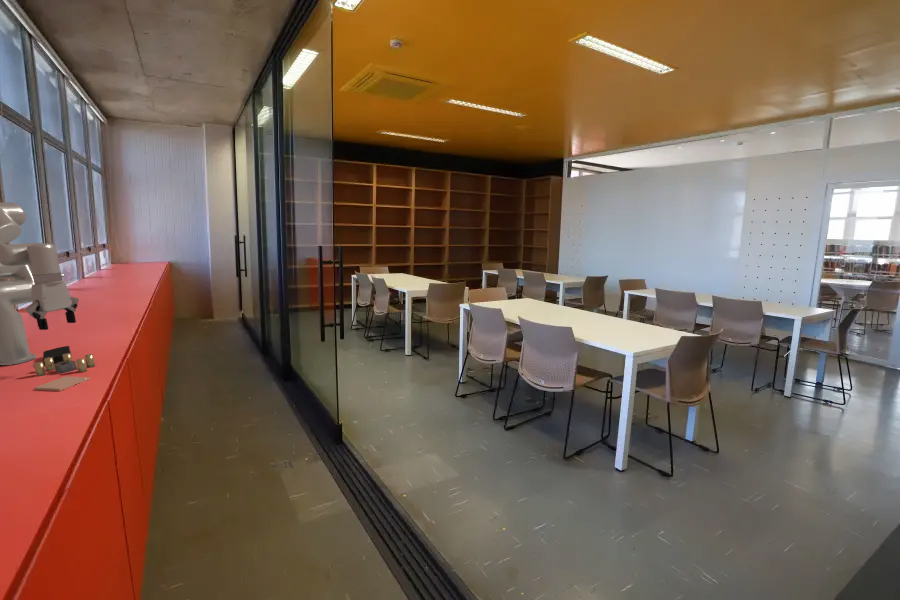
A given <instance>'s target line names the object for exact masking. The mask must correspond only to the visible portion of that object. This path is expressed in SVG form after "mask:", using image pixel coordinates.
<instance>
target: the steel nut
mask: <svg viewBox="0 0 900 600" xmlns="http://www.w3.org/2000/svg"><path fill="white" fill-rule="evenodd" d="M54 366H55V372H56V374H67V373H71V372H74V371H75V370H77V369H78V367H77V362H76V360H72V361H65V362H61V363H57V364H54ZM76 368H77V369H76ZM70 371H71V372H70ZM66 372H67V373H66Z"/></svg>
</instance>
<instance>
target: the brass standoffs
mask: <svg viewBox="0 0 900 600" xmlns="http://www.w3.org/2000/svg"><path fill="white" fill-rule="evenodd" d="M71 356H72V352H71V353H66V354H63V360H64V362H65V361H73V358H72V357H73V356H72V357H71ZM44 361H45V365H44V364H43V361H38V362H34V363H33V366H34V369H35V374H36V375H35V376H36V377H41V376H42V377H43V376H45V375H46V374H47V373H46V372H51V371H54V370H55V371H56V368H55V364H54V361H53V357H49V358H45V359H44ZM75 362H76V367H77V371H78V373H84V372H87V371H88V370H87V368H94V367H95V366H96V364H95V359H94V355H93V353H88V354H85V355H84V357H82V358H78V359H75ZM45 369H46V370H45Z"/></svg>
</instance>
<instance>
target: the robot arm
mask: <svg viewBox="0 0 900 600" xmlns="http://www.w3.org/2000/svg"><path fill="white" fill-rule="evenodd" d="M26 219H27V214H26V212H25V210H24V208H23V207H22V206H21V205H19V204H17V203H14V202H0V280H1V281H0V365H7V366H13V364H14V365H18V364H19V365H20V364H22V363H27V362H31V361H32V360H35V359H36V358H37V355H36V354H35V353H31V351H30V347H29V343H28V339H27V338H28V337H27V333H26V329H25V325H24V321H23V315H22V314H21V313H20V312H19V311H17V310H16V309H15V308H13V307H12V306H14V305H15V306H16V305H21V304H27V303H31V304H29V305H28V306H27V307H25V311H26V312H27V313H28V314H29V316H30V317H32V318H33V319H34V320H36V323H37V327H38V330H40V331H46V330H49V324H48V320H47V318H46V315H47V313H51V312H54V311H59V310H63V311H66V312H64V315H65V317H66V318H65V319H66V323H68V324H75V323H77V320H76V319H77V318H76V315H75V312H76V311H77V310H76V309H77V307H78V304H79V301H80V300H79V298H77V297H75V296H71V293H70V291H69V289H68V288H69V287H68V286H67V283H66V282H65V280H63V278H64V277H65V275H64V273H62V271H61V266H60V263H59V257H58V256H59V255H58V252H57V247H56V245H55V244H53V243H49V242H48V243H47V242H45V243H43V242H29V243H28V242H26V243H11V242H13V241H14V240H16V239H17V238H18V237H20V235H21V233H22V228H21V226H22V225H24V223H25V222H26ZM7 243H9V244H7ZM10 243H11V244H10ZM6 279H7V280H6ZM8 279H9V280H8ZM10 279H11V280H10ZM12 279H13V280H12Z"/></svg>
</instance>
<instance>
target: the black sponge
mask: <svg viewBox="0 0 900 600" xmlns="http://www.w3.org/2000/svg"><path fill="white" fill-rule="evenodd" d="M66 353H71V354H72V352H71V349H70V346H69V345H65V346H59V347H55V348H51V349H49V350H44V351H43V353H42V354H43V357H42V362H43V364H44V366H45V361H44V359H45V358H49V357H53V361H54V365H56V364H58V363H61V362H64V360H63V354H66ZM71 357H73V356H72V355H71Z"/></svg>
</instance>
